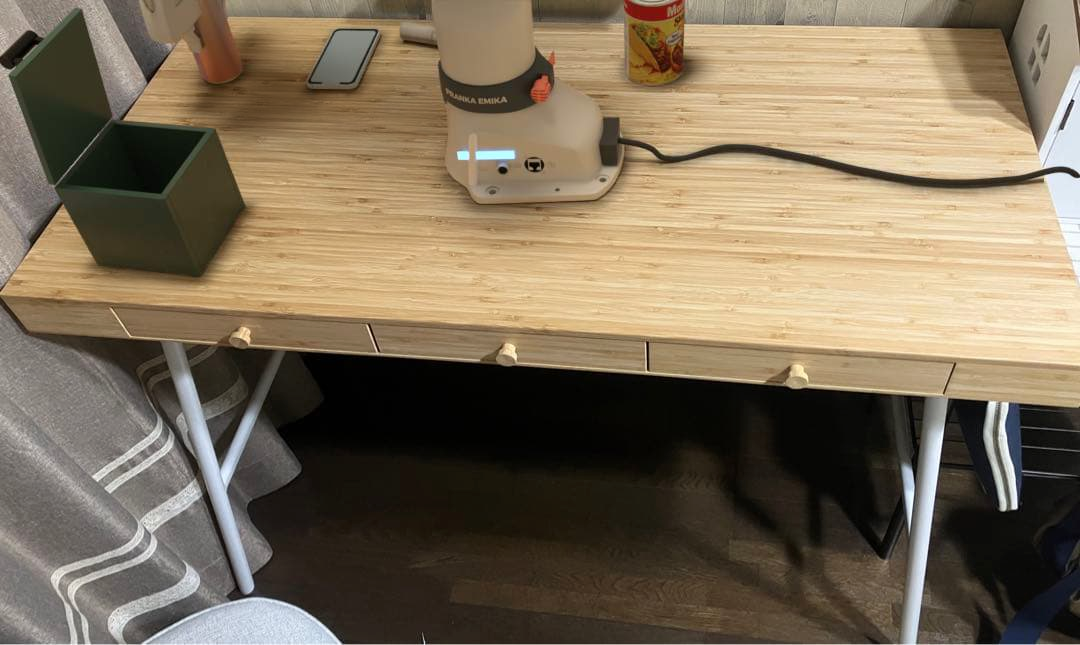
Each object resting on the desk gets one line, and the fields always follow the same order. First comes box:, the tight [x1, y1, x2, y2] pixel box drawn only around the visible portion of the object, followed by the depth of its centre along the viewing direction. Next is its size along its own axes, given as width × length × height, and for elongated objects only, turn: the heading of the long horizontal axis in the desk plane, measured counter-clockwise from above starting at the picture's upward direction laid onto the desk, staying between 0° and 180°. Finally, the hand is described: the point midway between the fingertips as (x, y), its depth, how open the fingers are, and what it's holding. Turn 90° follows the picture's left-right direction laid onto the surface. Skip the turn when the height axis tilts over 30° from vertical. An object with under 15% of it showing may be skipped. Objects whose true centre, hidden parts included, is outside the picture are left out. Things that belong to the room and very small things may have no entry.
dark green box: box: [53, 118, 246, 278], centre depth 118 cm, size 14×13×12 cm
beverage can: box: [191, 0, 244, 85], centre depth 140 cm, size 6×6×15 cm
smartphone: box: [306, 27, 382, 90], centre depth 144 cm, size 7×1×15 cm
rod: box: [399, 20, 438, 46], centre depth 145 cm, size 12×3×3 cm, turn 67°
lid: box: [0, 7, 114, 186], centre depth 109 cm, size 14×13×5 cm
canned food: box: [622, 0, 686, 87], centre depth 133 cm, size 8×8×12 cm
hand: (210, 35), depth 141 cm, fingers closed on beverage can, 6 cm apart
